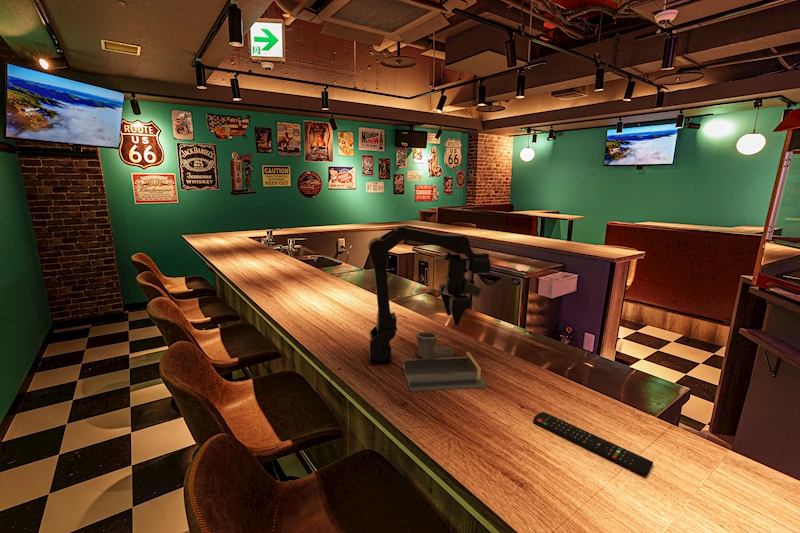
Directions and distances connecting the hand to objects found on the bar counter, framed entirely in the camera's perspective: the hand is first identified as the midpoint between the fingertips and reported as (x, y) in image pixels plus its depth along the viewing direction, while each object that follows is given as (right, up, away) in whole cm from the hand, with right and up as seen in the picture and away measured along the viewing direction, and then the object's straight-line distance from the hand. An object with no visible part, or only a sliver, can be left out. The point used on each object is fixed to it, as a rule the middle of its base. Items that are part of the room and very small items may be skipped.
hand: (452, 320), depth 122 cm
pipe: (-6, -13, +2) cm, 14 cm away
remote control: (+24, -22, -38) cm, 51 cm away
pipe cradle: (-4, -15, -11) cm, 19 cm away
